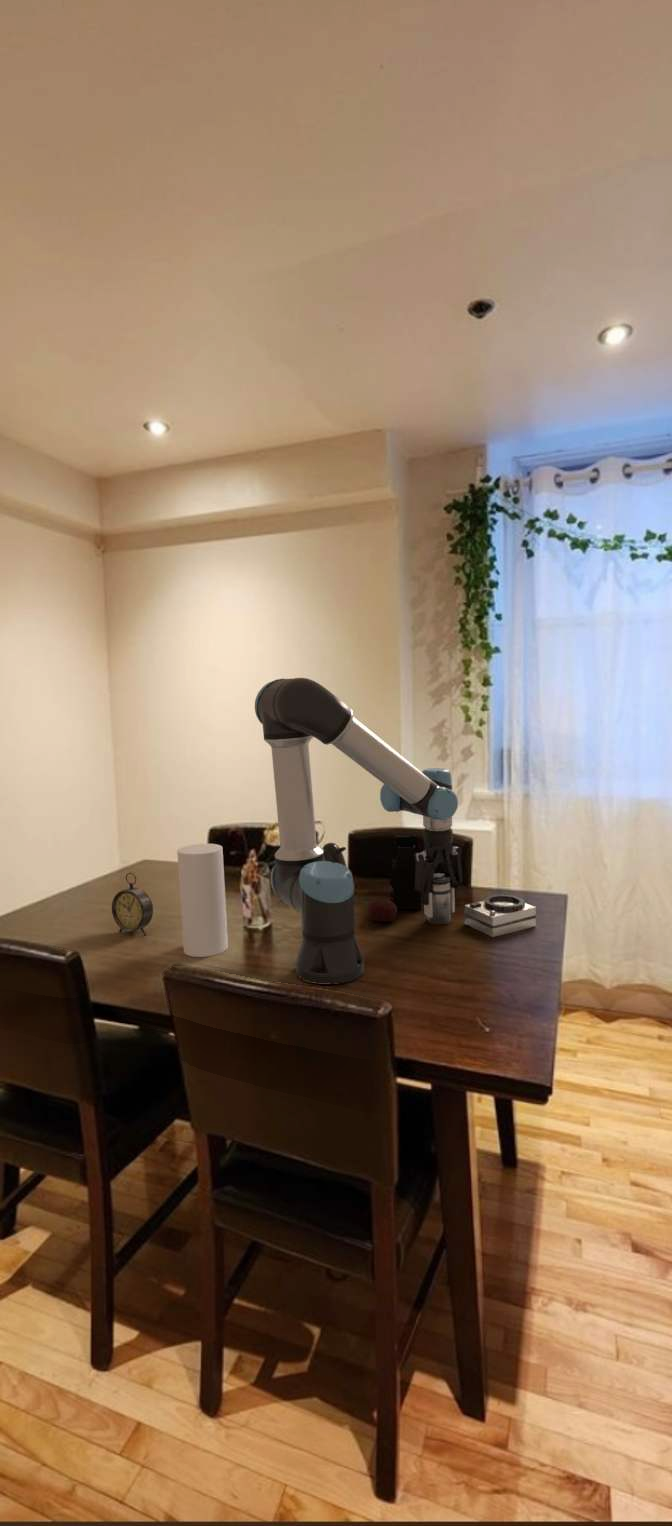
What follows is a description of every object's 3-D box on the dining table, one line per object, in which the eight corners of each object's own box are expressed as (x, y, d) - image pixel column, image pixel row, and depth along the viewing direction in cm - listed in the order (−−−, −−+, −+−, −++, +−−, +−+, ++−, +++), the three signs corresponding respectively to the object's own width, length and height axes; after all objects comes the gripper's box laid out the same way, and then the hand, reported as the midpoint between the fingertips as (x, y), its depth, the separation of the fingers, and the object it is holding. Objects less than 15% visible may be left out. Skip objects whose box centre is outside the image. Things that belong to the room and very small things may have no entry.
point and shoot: (492, 937, 166) (492, 912, 165) (464, 923, 175) (464, 900, 175) (535, 926, 172) (535, 902, 171) (506, 913, 182) (506, 891, 181)
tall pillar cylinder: (180, 945, 168) (173, 846, 165) (222, 937, 172) (216, 841, 169) (188, 960, 158) (181, 856, 155) (232, 951, 162) (227, 850, 160)
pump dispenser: (337, 898, 201) (336, 848, 199) (309, 893, 206) (307, 844, 204) (355, 889, 209) (354, 840, 207) (327, 884, 215) (326, 837, 213)
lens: (436, 926, 174) (435, 880, 173) (422, 919, 180) (422, 875, 178) (456, 921, 177) (456, 876, 176) (442, 915, 183) (441, 871, 181)
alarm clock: (112, 933, 178) (107, 873, 176) (126, 926, 183) (122, 868, 181) (144, 938, 173) (139, 877, 171) (158, 931, 178) (154, 871, 176)
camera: (424, 895, 200) (422, 829, 198) (425, 910, 187) (424, 839, 184) (390, 895, 201) (388, 829, 199) (389, 910, 188) (387, 840, 185)
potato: (376, 928, 174) (376, 906, 174) (362, 919, 182) (361, 897, 181) (401, 923, 177) (401, 901, 177) (386, 914, 185) (385, 893, 184)
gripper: (414, 835, 168) (417, 924, 171) (476, 825, 177) (477, 910, 179) (398, 830, 175) (400, 916, 177) (459, 820, 183) (460, 903, 186)
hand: (439, 913), depth 178 cm, fingers closed on lens, 6 cm apart
